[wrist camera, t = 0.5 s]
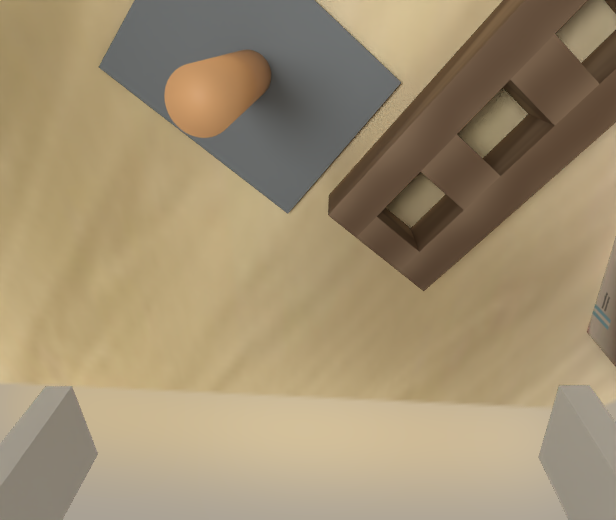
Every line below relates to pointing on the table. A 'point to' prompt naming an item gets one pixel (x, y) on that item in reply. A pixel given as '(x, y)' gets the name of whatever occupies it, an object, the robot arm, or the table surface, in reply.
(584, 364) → the table surface
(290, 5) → the mat
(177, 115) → the pin
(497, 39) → the hole block
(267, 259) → the table surface
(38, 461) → the robot arm
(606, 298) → the cake mix box
